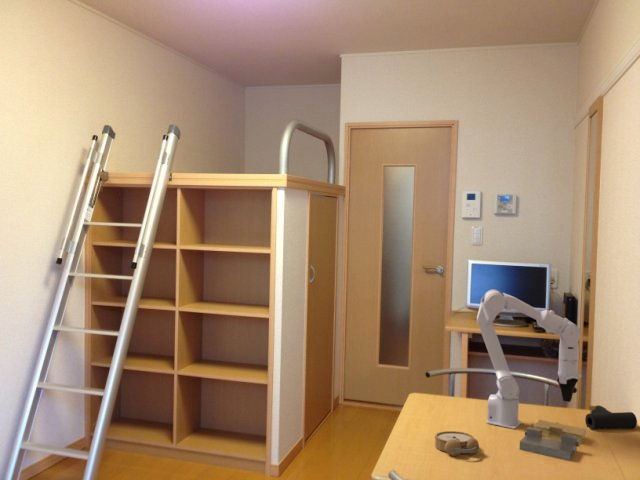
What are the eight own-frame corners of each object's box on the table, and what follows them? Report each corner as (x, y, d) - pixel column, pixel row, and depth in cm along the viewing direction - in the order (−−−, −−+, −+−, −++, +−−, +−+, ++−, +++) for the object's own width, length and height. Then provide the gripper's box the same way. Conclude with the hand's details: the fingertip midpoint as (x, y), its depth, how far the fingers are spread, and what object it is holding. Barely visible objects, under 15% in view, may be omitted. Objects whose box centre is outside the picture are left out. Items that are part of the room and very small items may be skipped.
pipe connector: (574, 404, 208) (615, 403, 210) (573, 419, 208) (614, 418, 210) (594, 416, 196) (637, 414, 199) (594, 432, 197) (636, 430, 199)
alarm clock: (462, 429, 188) (486, 438, 174) (463, 446, 188) (487, 456, 173) (428, 432, 186) (449, 441, 171) (429, 449, 185) (450, 459, 171)
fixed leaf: (517, 448, 181) (517, 434, 181) (526, 439, 188) (526, 426, 188) (572, 461, 172) (572, 446, 172) (578, 451, 180) (579, 437, 179)
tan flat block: (531, 436, 191) (532, 422, 191) (539, 428, 199) (539, 415, 198) (579, 446, 183) (580, 432, 183) (585, 437, 191) (586, 424, 191)
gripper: (576, 365, 190) (575, 409, 191) (586, 356, 202) (584, 397, 203) (552, 362, 194) (551, 404, 195) (563, 353, 206) (562, 393, 207)
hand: (566, 401), depth 199 cm, fingers closed
